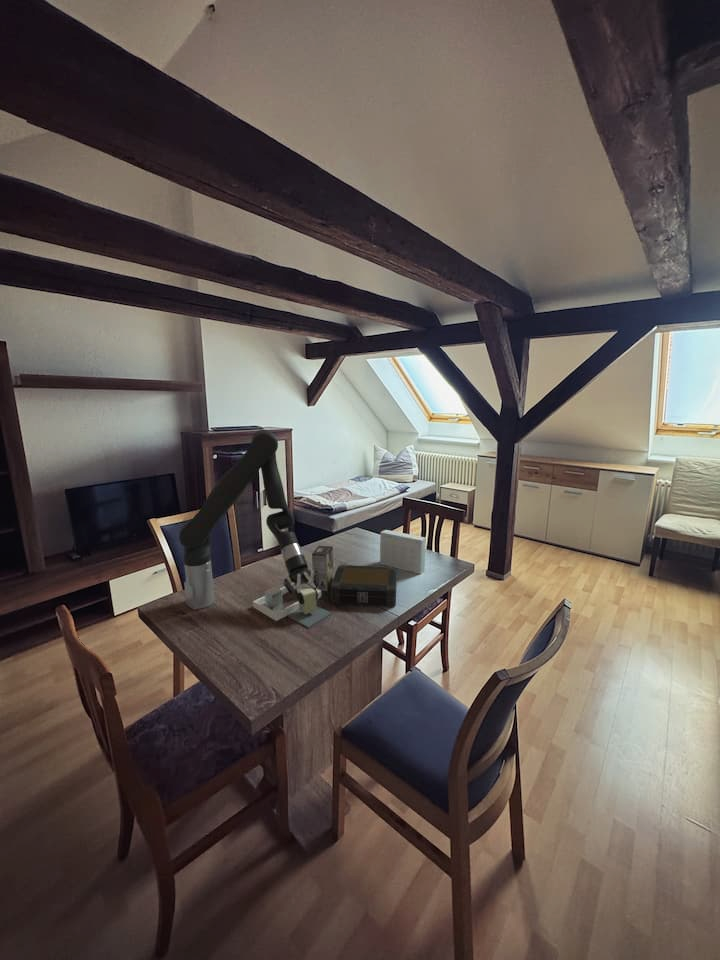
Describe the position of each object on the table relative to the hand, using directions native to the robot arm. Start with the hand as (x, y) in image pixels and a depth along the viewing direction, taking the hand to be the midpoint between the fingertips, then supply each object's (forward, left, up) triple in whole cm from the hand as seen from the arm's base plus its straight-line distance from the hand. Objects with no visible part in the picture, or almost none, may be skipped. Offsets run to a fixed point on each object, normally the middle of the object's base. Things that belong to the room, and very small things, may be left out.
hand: (309, 601), depth 135 cm
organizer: (+1, +14, -6) cm, 16 cm away
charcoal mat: (0, +1, -6) cm, 6 cm away
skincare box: (+55, -2, -7) cm, 56 cm away
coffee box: (+19, +13, -6) cm, 24 cm away
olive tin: (0, +2, -4) cm, 5 cm away
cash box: (+26, -4, -7) cm, 27 cm away
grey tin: (-5, +14, -6) cm, 16 cm away
